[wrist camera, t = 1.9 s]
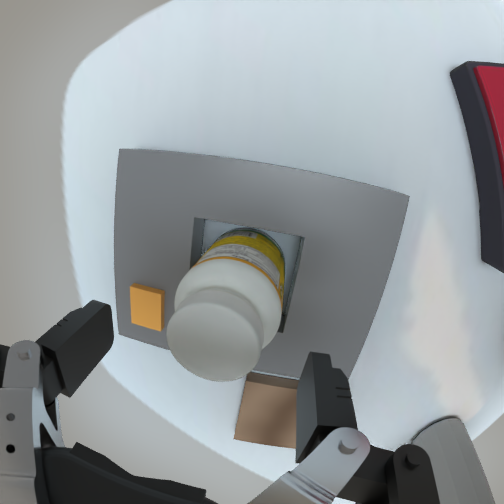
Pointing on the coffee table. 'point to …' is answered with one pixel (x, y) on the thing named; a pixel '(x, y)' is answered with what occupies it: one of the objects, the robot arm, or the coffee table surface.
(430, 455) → the water bottle
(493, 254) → the calculator
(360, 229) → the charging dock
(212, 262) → the supplement bottle
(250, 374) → the coaster pad
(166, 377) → the coffee table surface
